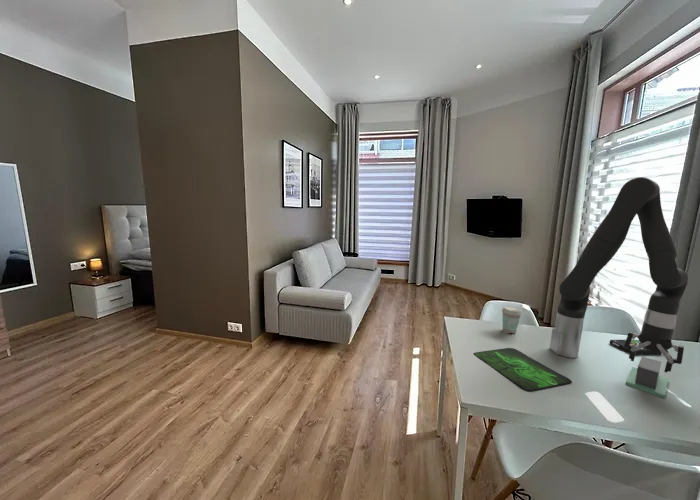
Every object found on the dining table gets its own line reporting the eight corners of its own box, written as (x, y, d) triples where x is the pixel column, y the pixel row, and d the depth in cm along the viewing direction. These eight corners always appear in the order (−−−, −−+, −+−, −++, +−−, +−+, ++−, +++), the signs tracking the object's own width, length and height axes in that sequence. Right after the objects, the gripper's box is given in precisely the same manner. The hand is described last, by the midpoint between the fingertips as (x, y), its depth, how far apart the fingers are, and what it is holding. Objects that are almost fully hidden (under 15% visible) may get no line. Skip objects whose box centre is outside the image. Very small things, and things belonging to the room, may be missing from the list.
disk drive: (632, 356, 126) (661, 355, 127) (633, 350, 125) (663, 349, 127) (608, 345, 136) (636, 344, 138) (609, 339, 135) (637, 338, 137)
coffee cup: (503, 334, 142) (505, 310, 140) (497, 327, 150) (499, 305, 149) (521, 336, 141) (525, 312, 139) (515, 328, 149) (517, 306, 147)
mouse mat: (470, 353, 122) (470, 351, 122) (511, 347, 129) (511, 345, 129) (527, 393, 97) (527, 391, 96) (574, 383, 103) (575, 381, 103)
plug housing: (635, 382, 103) (637, 366, 102) (639, 371, 111) (642, 356, 110) (655, 389, 99) (658, 372, 99) (658, 377, 107) (661, 361, 106)
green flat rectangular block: (625, 384, 104) (626, 377, 103) (632, 369, 114) (633, 363, 113) (664, 398, 96) (666, 391, 96) (668, 381, 107) (669, 374, 106)
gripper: (629, 318, 105) (620, 360, 107) (689, 333, 94) (677, 379, 97) (632, 314, 109) (623, 354, 112) (690, 328, 99) (678, 372, 101)
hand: (648, 365), depth 104 cm, fingers open, 8 cm apart
